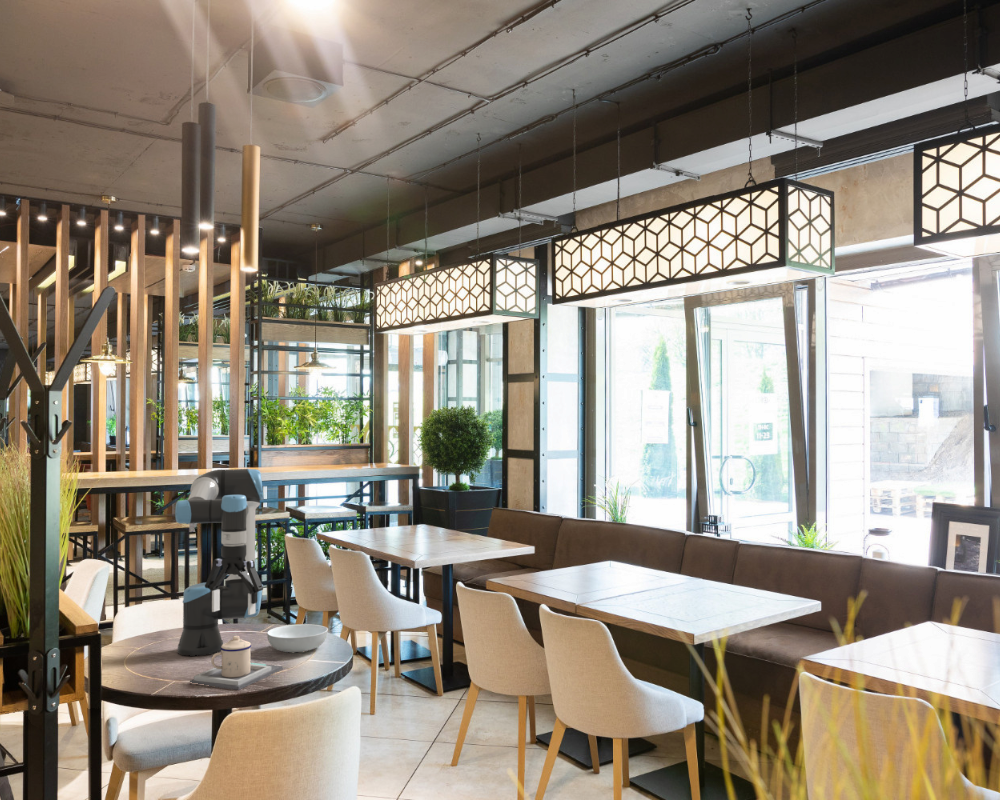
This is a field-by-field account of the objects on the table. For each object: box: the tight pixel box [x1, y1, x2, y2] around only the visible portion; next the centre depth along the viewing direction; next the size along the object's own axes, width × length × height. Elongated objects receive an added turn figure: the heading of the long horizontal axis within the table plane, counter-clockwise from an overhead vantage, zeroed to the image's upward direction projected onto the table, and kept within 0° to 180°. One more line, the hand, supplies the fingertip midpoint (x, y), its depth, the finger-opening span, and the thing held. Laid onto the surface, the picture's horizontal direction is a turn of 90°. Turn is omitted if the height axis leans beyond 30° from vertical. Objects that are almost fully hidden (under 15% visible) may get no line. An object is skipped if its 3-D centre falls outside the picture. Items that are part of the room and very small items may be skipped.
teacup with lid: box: [210, 635, 252, 678], centre depth 254 cm, size 12×9×12 cm
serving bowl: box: [266, 623, 329, 653], centre depth 286 cm, size 21×21×7 cm
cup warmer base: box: [189, 662, 283, 691], centre depth 255 cm, size 18×22×2 cm
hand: (233, 612), depth 254 cm, fingers open, 13 cm apart
